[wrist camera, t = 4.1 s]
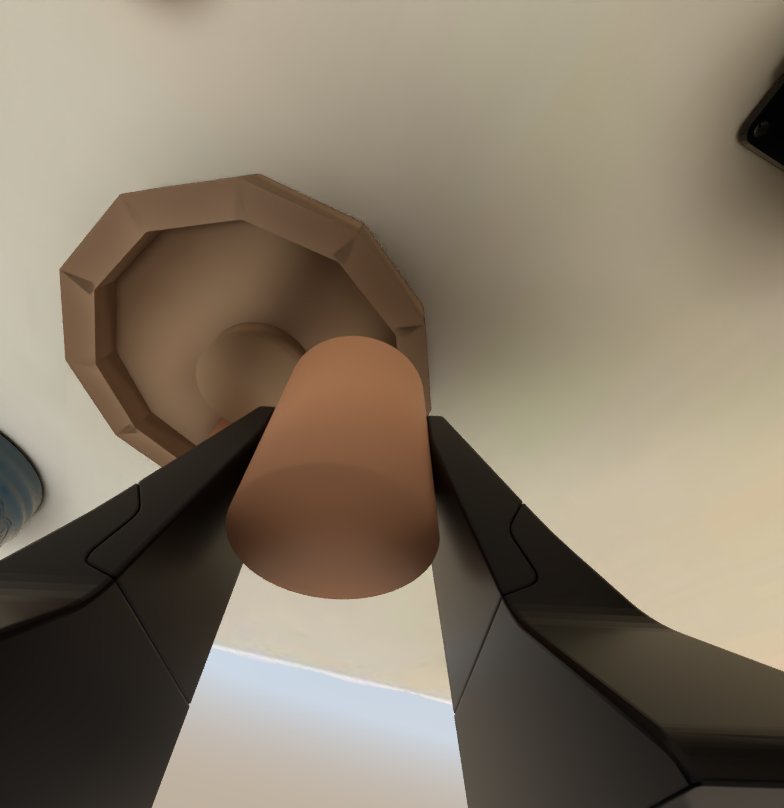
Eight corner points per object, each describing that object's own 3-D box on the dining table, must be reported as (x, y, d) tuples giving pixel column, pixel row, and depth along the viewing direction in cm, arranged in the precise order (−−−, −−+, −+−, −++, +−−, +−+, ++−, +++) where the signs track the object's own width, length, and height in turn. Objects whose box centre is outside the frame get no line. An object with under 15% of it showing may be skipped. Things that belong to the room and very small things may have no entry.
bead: (417, 452, 11) (427, 602, 8) (295, 446, 11) (243, 595, 7) (430, 340, 9) (455, 468, 6) (282, 331, 9) (204, 456, 5)
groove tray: (488, 281, 19) (499, 299, 16) (359, 506, 28) (356, 536, 26) (94, 96, 15) (42, 88, 13) (98, 425, 24) (69, 452, 22)
